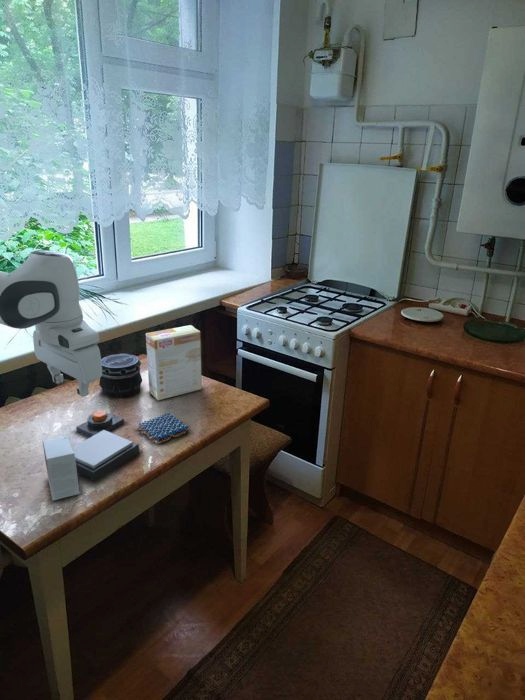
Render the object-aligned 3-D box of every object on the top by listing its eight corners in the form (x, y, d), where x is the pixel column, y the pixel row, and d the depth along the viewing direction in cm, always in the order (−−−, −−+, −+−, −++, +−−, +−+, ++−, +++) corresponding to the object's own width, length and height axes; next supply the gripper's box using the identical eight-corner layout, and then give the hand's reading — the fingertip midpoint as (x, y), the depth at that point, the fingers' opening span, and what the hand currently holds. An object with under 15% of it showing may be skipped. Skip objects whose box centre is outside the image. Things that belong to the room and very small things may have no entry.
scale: (94, 481, 111) (93, 469, 109) (59, 464, 116) (57, 452, 115) (139, 452, 122) (138, 441, 121) (105, 438, 127) (104, 426, 126)
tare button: (99, 423, 129) (98, 417, 129) (90, 419, 131) (90, 414, 130) (108, 417, 132) (108, 412, 131) (100, 414, 133) (99, 409, 133)
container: (115, 378, 161) (113, 350, 157) (150, 384, 157) (148, 355, 153) (91, 395, 149) (87, 364, 146) (128, 402, 146) (126, 371, 142)
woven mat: (169, 417, 138) (169, 410, 138) (191, 432, 131) (191, 425, 130) (135, 429, 132) (135, 422, 131) (157, 446, 125) (156, 439, 124)
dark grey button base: (95, 439, 127) (93, 429, 125) (76, 431, 130) (75, 421, 129) (124, 423, 135) (123, 413, 133) (106, 416, 138) (105, 406, 137)
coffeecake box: (192, 381, 160) (190, 324, 153) (202, 389, 155) (201, 331, 148) (148, 391, 152) (144, 332, 145) (157, 401, 147) (154, 339, 140)
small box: (48, 480, 111) (41, 439, 107) (74, 474, 113) (69, 434, 109) (52, 501, 104) (45, 459, 100) (80, 494, 106) (74, 453, 103)
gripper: (21, 321, 105) (31, 379, 111) (76, 345, 94) (84, 408, 99) (48, 314, 110) (57, 370, 115) (104, 336, 99) (111, 397, 104)
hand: (70, 388), depth 107 cm, fingers open, 8 cm apart
